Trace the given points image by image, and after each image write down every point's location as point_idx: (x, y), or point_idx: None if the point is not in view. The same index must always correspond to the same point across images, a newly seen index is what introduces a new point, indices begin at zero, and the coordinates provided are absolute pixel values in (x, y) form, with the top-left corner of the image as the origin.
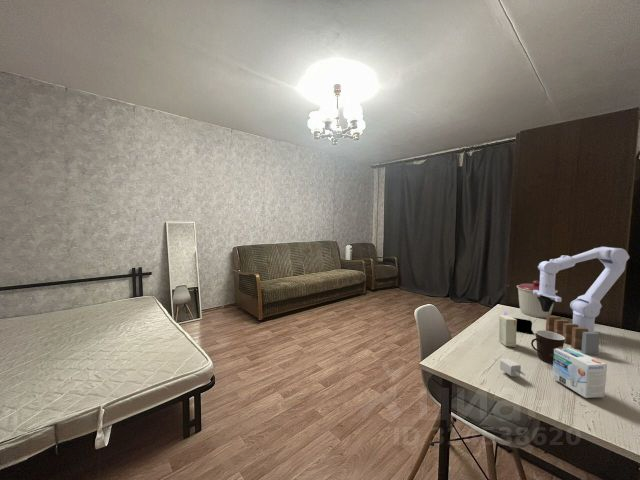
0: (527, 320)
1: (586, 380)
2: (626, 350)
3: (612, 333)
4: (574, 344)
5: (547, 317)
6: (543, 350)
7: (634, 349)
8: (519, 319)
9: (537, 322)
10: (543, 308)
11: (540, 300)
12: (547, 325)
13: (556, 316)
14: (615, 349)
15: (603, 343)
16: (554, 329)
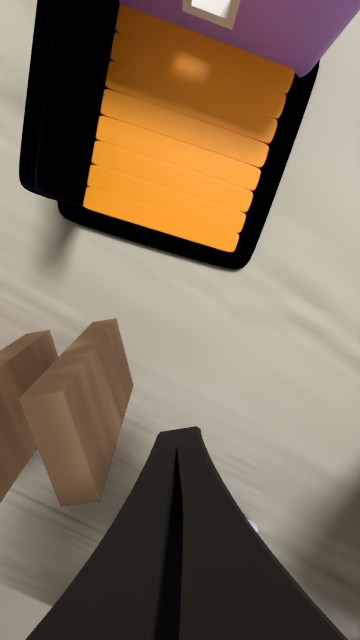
0: (24, 134)
1: None
2: (11, 570)
3: None
4: None
5: (54, 386)
6: None
7: (40, 601)
8: (39, 29)
9: (342, 381)
10: (158, 459)
11: (211, 626)
12: (79, 346)
13: (84, 488)
14: (2, 538)
15: (67, 535)
16: (10, 357)
